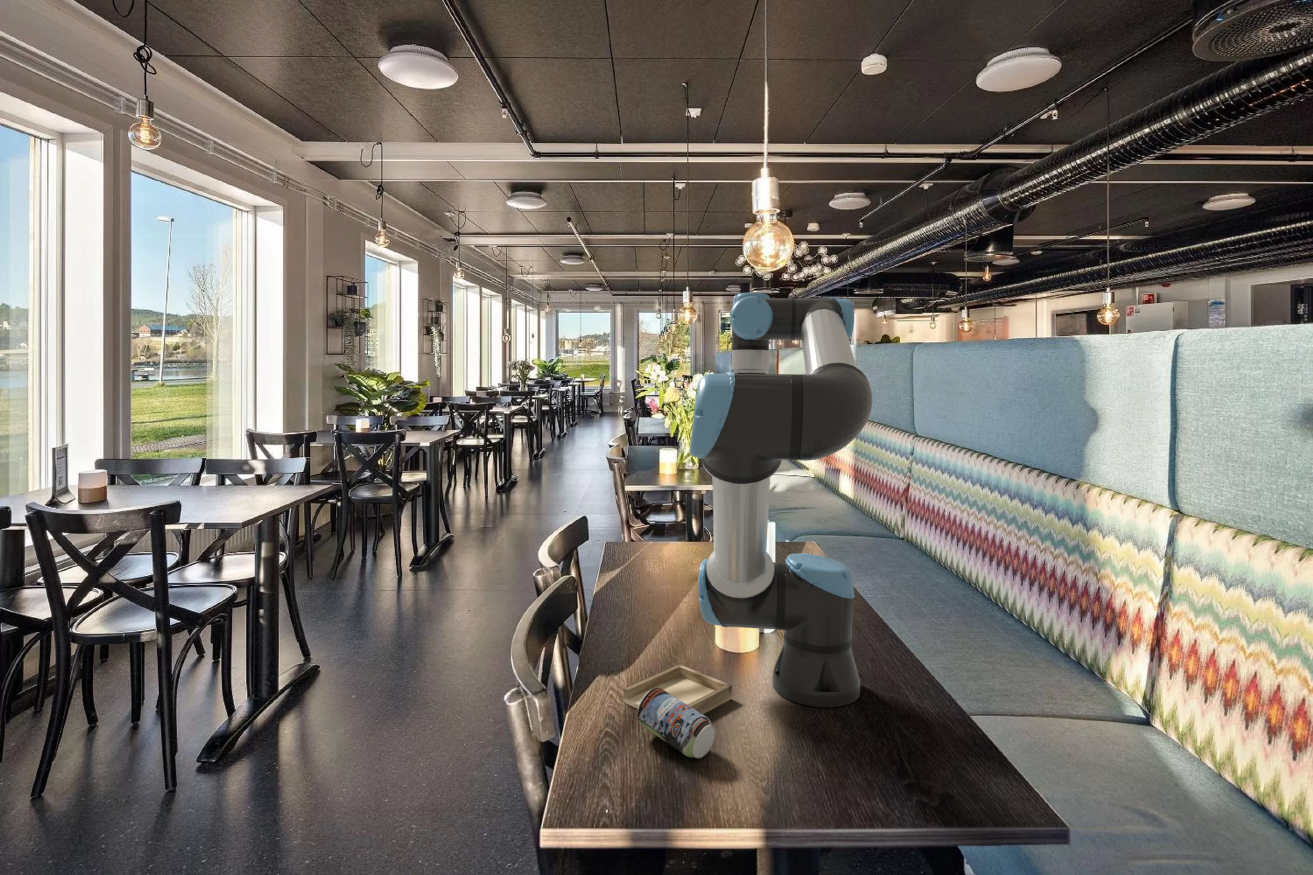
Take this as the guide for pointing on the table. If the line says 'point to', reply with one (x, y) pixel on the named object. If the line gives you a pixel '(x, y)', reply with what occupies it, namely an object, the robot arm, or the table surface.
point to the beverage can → (676, 723)
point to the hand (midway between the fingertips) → (746, 487)
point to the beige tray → (683, 688)
